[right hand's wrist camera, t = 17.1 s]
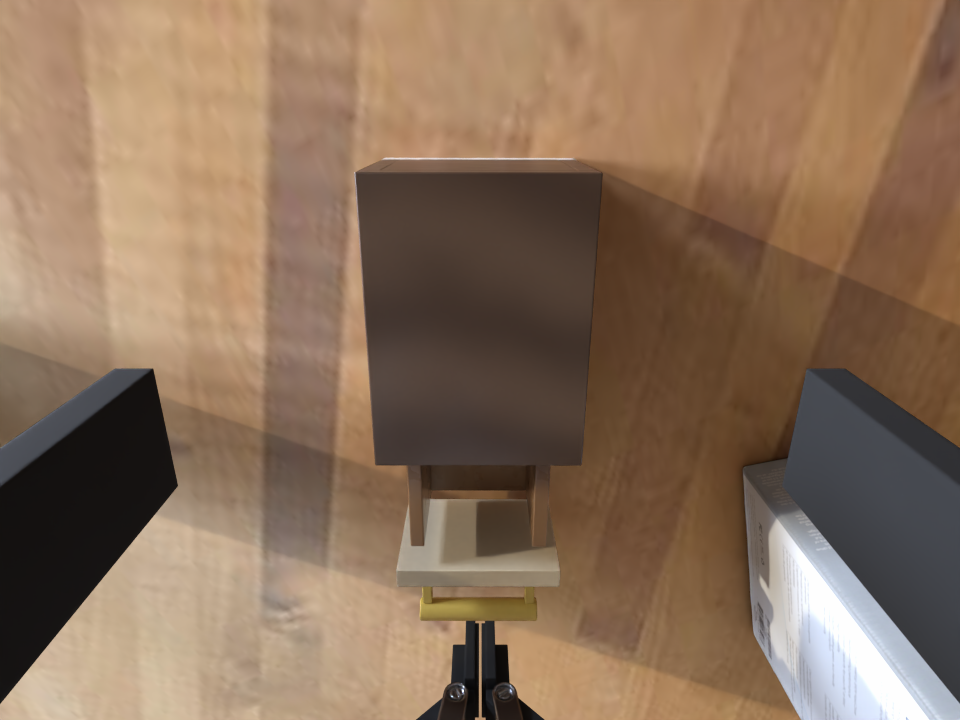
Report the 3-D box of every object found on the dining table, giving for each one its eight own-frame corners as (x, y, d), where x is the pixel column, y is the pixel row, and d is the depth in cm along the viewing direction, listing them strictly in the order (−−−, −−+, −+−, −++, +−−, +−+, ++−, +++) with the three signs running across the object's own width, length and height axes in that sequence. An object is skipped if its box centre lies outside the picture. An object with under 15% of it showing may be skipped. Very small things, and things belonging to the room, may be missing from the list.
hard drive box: (852, 616, 47) (1094, 940, 29) (750, 632, 48) (923, 961, 29) (852, 441, 41) (1153, 704, 23) (737, 463, 42) (940, 735, 24)
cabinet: (560, 392, 40) (581, 466, 32) (396, 392, 40) (374, 465, 32) (573, 158, 35) (603, 172, 26) (384, 157, 35) (353, 171, 26)
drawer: (543, 578, 45) (554, 658, 38) (413, 578, 45) (401, 658, 38) (556, 331, 38) (572, 377, 31) (401, 331, 38) (384, 377, 31)
